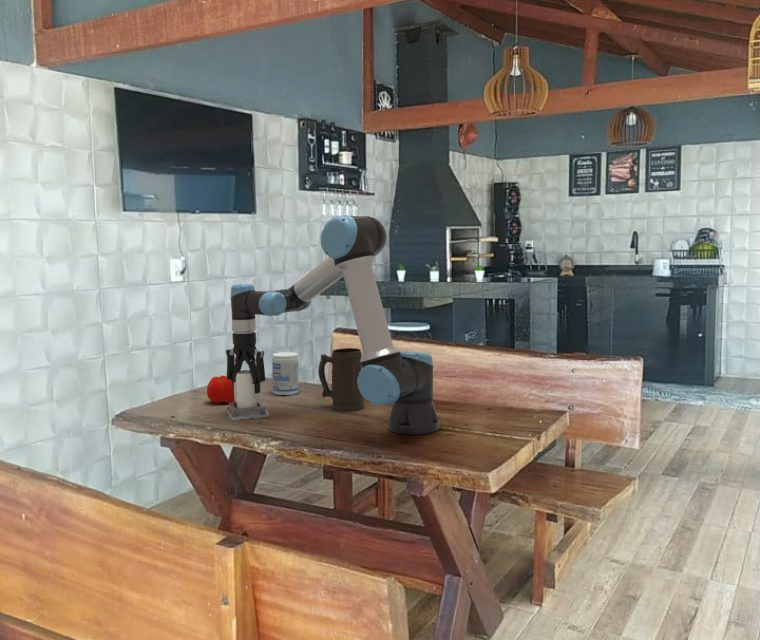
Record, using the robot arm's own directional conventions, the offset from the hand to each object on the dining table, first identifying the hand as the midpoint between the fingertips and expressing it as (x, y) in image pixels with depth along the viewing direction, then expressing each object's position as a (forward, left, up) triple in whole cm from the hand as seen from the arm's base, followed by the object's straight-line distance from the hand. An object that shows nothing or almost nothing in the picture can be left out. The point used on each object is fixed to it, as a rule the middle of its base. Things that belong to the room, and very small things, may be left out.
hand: (246, 401), depth 236 cm
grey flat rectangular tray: (0, 0, -4) cm, 4 cm away
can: (0, 0, -2) cm, 2 cm away
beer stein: (-3, -31, -4) cm, 31 cm away
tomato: (+20, +5, -4) cm, 21 cm away
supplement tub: (+26, -18, -4) cm, 32 cm away
